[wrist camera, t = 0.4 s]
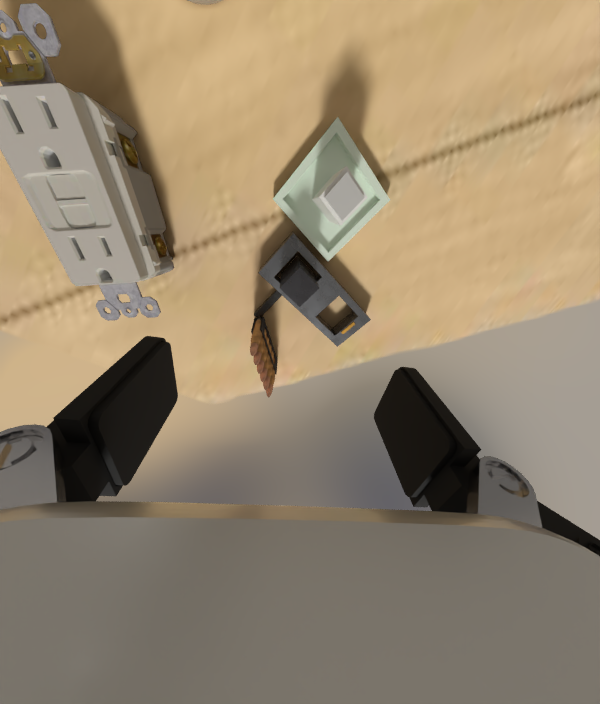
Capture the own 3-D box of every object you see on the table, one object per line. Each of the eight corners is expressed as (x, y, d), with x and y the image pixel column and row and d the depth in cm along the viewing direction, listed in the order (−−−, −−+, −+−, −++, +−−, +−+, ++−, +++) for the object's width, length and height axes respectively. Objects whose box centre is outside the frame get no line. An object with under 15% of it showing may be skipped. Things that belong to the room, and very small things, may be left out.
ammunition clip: (254, 318, 44) (244, 351, 34) (263, 316, 44) (256, 349, 34) (269, 362, 50) (264, 402, 39) (277, 360, 49) (275, 400, 39)
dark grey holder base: (235, 297, 41) (223, 317, 34) (292, 231, 36) (294, 238, 29) (310, 359, 50) (314, 386, 42) (365, 313, 44) (382, 335, 37)
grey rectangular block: (311, 199, 33) (319, 197, 25) (332, 175, 32) (347, 164, 24) (329, 221, 35) (342, 226, 27) (349, 199, 34) (369, 197, 26)
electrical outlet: (128, 304, 41) (83, 325, 32) (25, 69, 27) (-103, -7, 18) (193, 299, 41) (167, 319, 32) (124, 63, 27) (44, -17, 18)
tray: (273, 199, 34) (272, 199, 32) (335, 121, 29) (337, 116, 28) (326, 259, 39) (327, 261, 37) (385, 200, 34) (390, 199, 33)
